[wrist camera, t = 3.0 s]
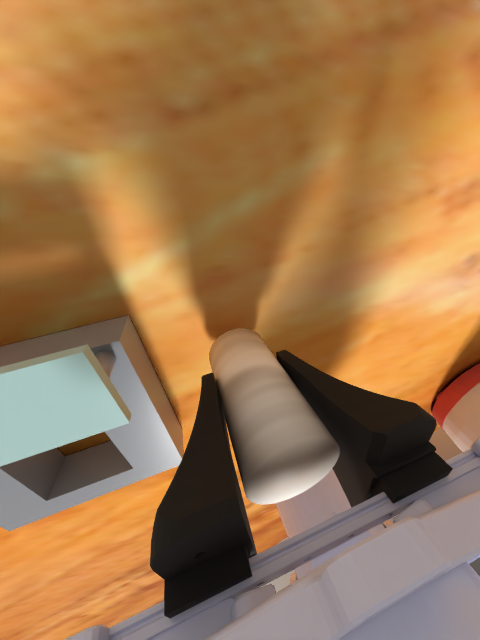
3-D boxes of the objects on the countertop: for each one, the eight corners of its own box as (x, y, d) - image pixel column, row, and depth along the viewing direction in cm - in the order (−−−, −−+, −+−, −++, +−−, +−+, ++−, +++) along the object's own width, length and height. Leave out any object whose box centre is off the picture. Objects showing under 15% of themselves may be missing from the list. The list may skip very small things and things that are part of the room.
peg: (265, 365, 16) (335, 477, 9) (215, 381, 15) (251, 516, 9) (261, 321, 14) (345, 423, 7) (203, 337, 13) (237, 467, 7)
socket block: (182, 429, 19) (187, 509, 14) (33, 482, 17) (-26, 600, 12) (118, 292, 12) (82, 352, 7) (-145, 352, 10) (-462, 497, 5)
